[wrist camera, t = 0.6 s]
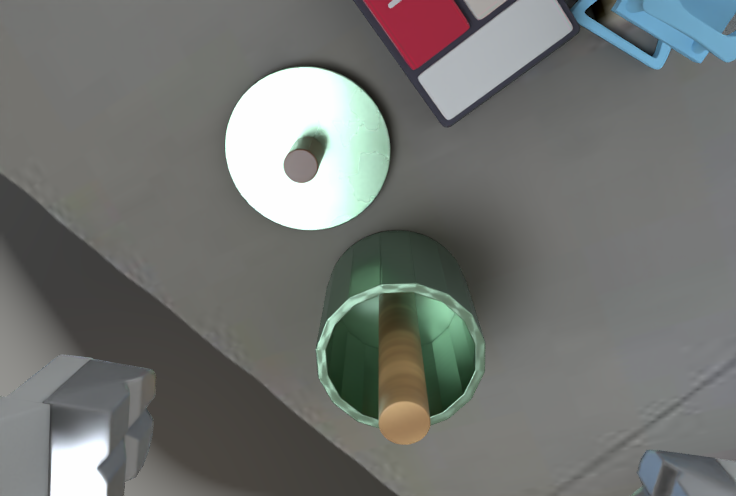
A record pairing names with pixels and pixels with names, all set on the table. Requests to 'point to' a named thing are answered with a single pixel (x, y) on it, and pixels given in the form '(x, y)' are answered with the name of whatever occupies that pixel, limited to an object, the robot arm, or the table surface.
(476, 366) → the tin
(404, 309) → the stick
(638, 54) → the chair
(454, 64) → the calculator
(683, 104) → the table surface
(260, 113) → the tin lid
